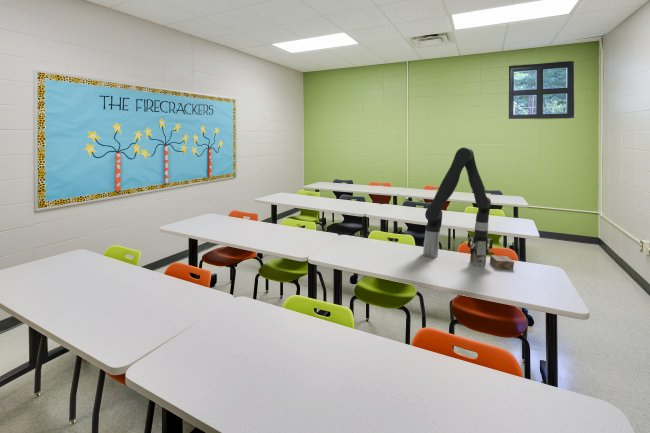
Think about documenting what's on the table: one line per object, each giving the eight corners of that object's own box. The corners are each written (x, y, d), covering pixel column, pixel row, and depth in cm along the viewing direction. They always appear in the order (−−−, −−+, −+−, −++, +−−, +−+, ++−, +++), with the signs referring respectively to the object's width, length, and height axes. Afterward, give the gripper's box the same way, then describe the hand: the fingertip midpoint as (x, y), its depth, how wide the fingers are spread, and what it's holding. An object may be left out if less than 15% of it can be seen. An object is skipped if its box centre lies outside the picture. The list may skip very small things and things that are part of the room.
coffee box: (485, 266, 215) (488, 241, 212) (475, 266, 215) (477, 241, 212) (479, 262, 224) (482, 237, 221) (469, 262, 224) (471, 237, 221)
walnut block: (495, 268, 212) (496, 260, 212) (489, 262, 224) (490, 255, 223) (513, 269, 211) (514, 261, 210) (506, 263, 222) (507, 256, 222)
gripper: (470, 229, 213) (468, 255, 216) (495, 230, 211) (492, 256, 214) (467, 227, 220) (465, 252, 223) (491, 228, 218) (489, 253, 221)
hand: (478, 254), depth 218 cm, fingers open, 8 cm apart
